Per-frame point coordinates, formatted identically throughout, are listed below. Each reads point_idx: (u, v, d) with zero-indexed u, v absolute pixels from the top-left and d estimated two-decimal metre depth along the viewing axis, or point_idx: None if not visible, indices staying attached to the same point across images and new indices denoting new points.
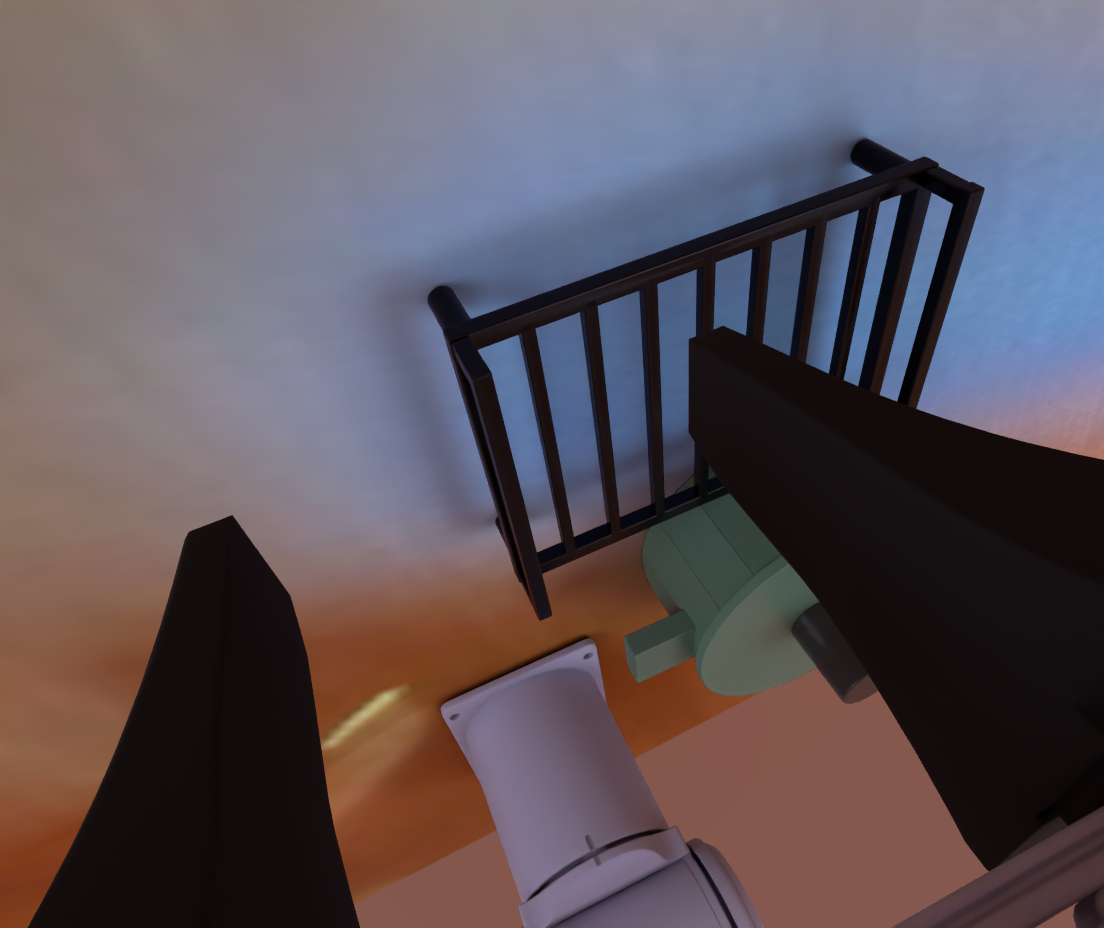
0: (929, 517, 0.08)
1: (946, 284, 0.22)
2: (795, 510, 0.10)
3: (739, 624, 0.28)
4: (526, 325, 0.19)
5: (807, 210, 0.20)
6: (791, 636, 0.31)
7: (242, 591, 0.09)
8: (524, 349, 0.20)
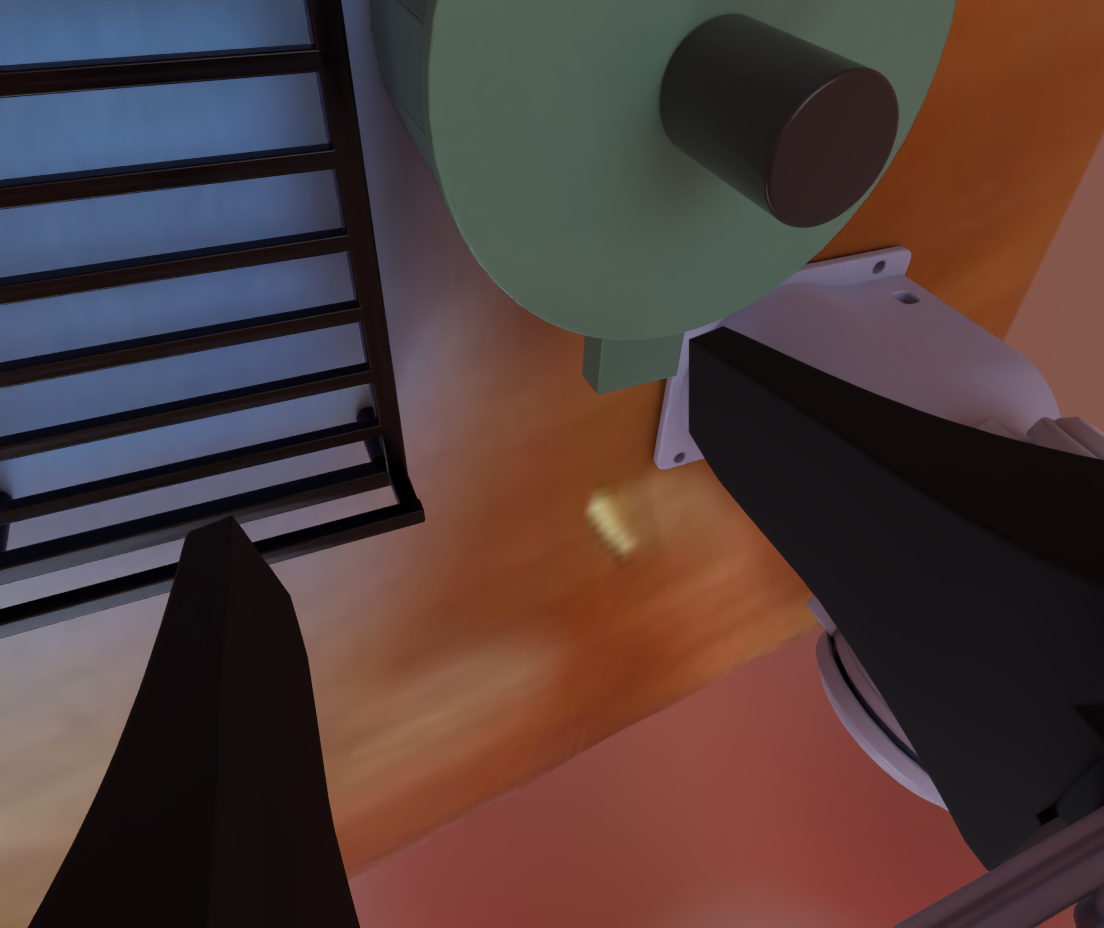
0: (929, 517, 0.08)
1: None
2: (795, 510, 0.10)
3: (585, 292, 0.15)
4: None
5: None
6: None
7: (242, 591, 0.09)
8: None
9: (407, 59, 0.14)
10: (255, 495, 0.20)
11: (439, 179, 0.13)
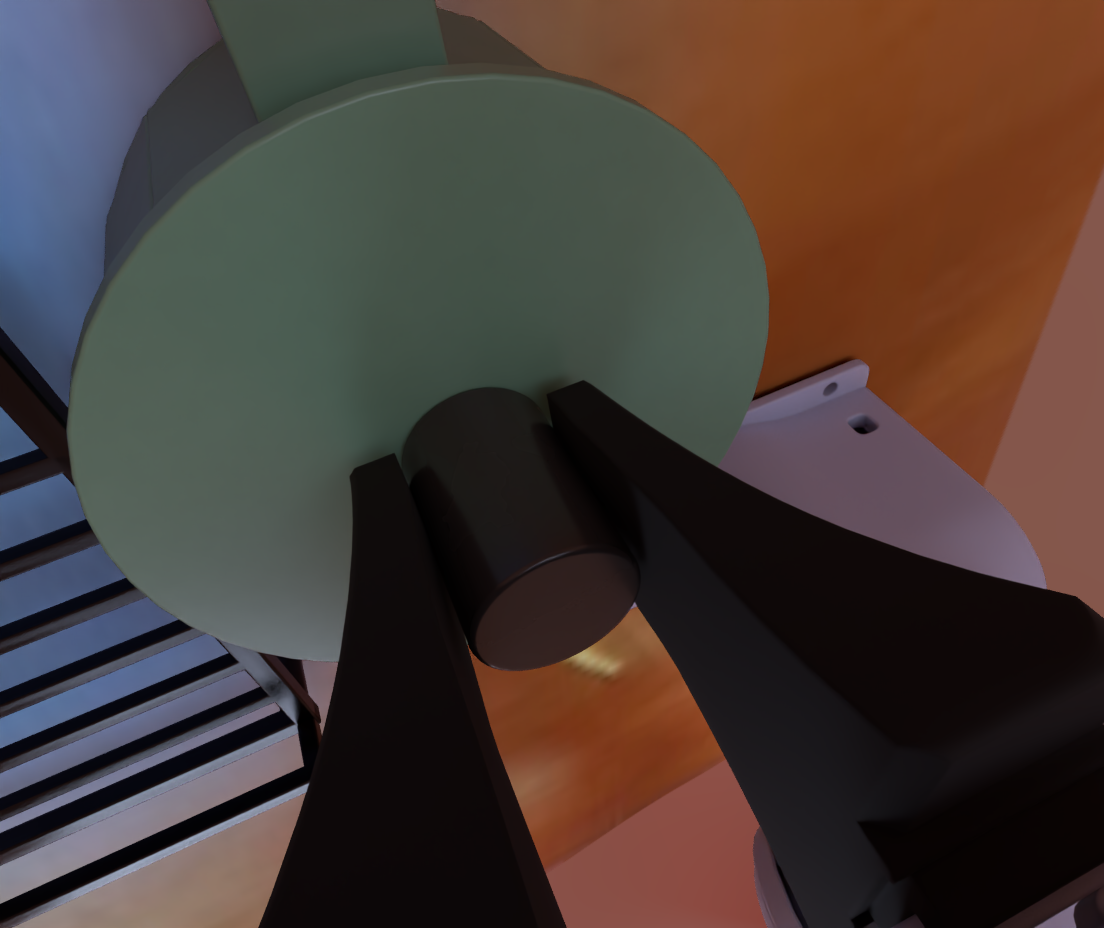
0: (732, 609, 0.07)
1: None
2: (646, 576, 0.10)
3: None
4: None
5: None
6: None
7: (418, 520, 0.10)
8: None
9: None
10: (164, 768, 0.20)
11: (173, 612, 0.12)
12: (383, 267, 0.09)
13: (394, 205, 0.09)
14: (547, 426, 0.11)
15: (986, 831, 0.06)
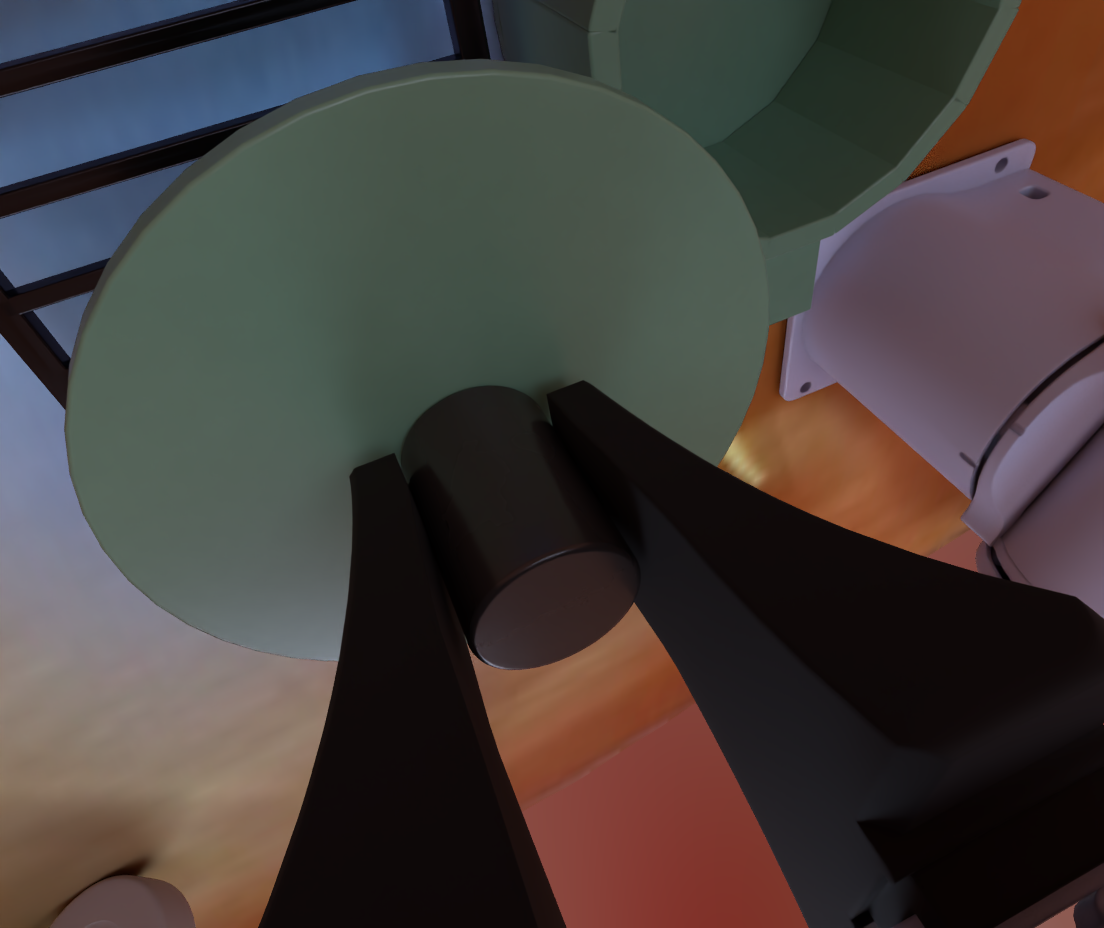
0: (732, 609, 0.07)
1: None
2: (645, 576, 0.10)
3: None
4: None
5: None
6: None
7: (418, 520, 0.10)
8: None
9: (543, 51, 0.15)
10: None
11: (172, 611, 0.12)
12: (382, 264, 0.09)
13: (393, 202, 0.09)
14: (547, 424, 0.11)
15: (986, 831, 0.06)
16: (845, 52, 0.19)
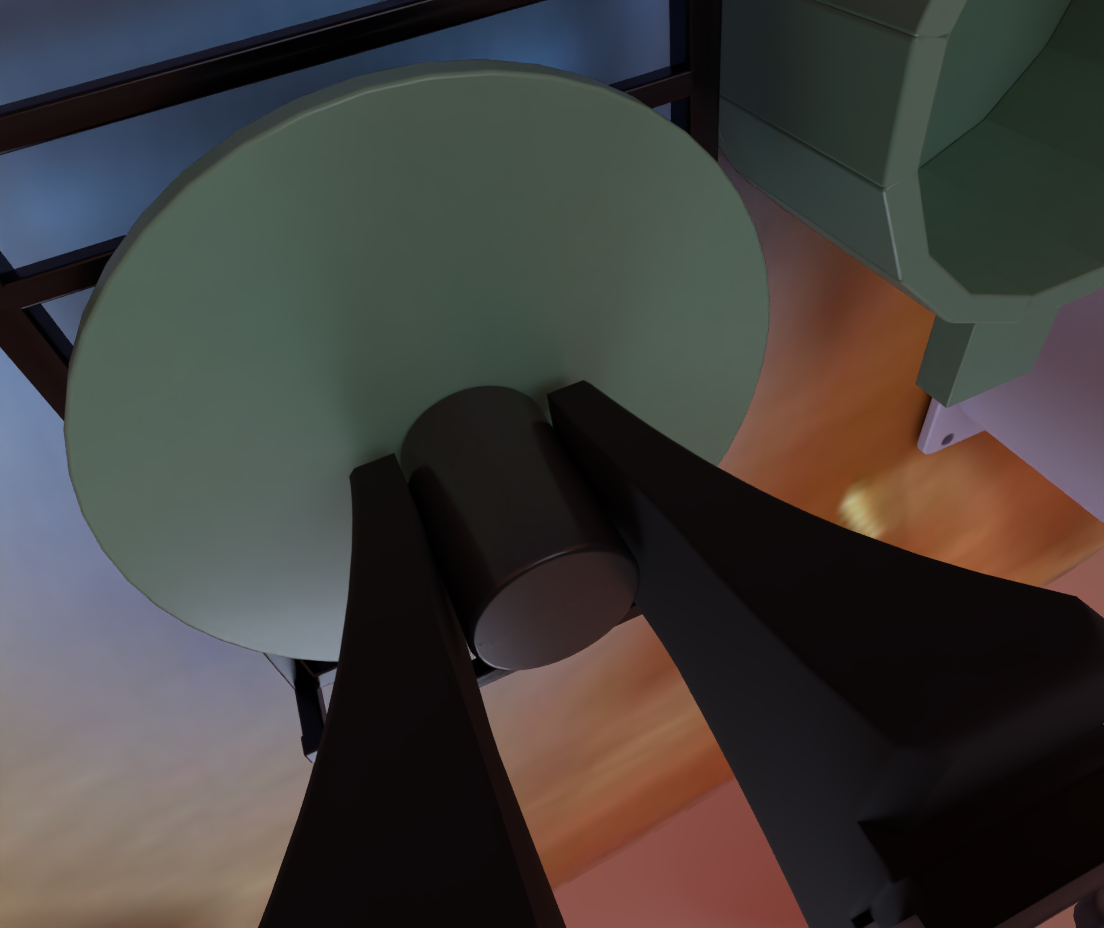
0: (732, 609, 0.07)
1: None
2: (646, 576, 0.10)
3: None
4: None
5: None
6: None
7: (418, 520, 0.10)
8: None
9: (791, 62, 0.11)
10: None
11: (172, 612, 0.12)
12: (381, 265, 0.09)
13: (392, 202, 0.09)
14: (546, 425, 0.11)
15: (986, 831, 0.06)
16: (1093, 61, 0.16)
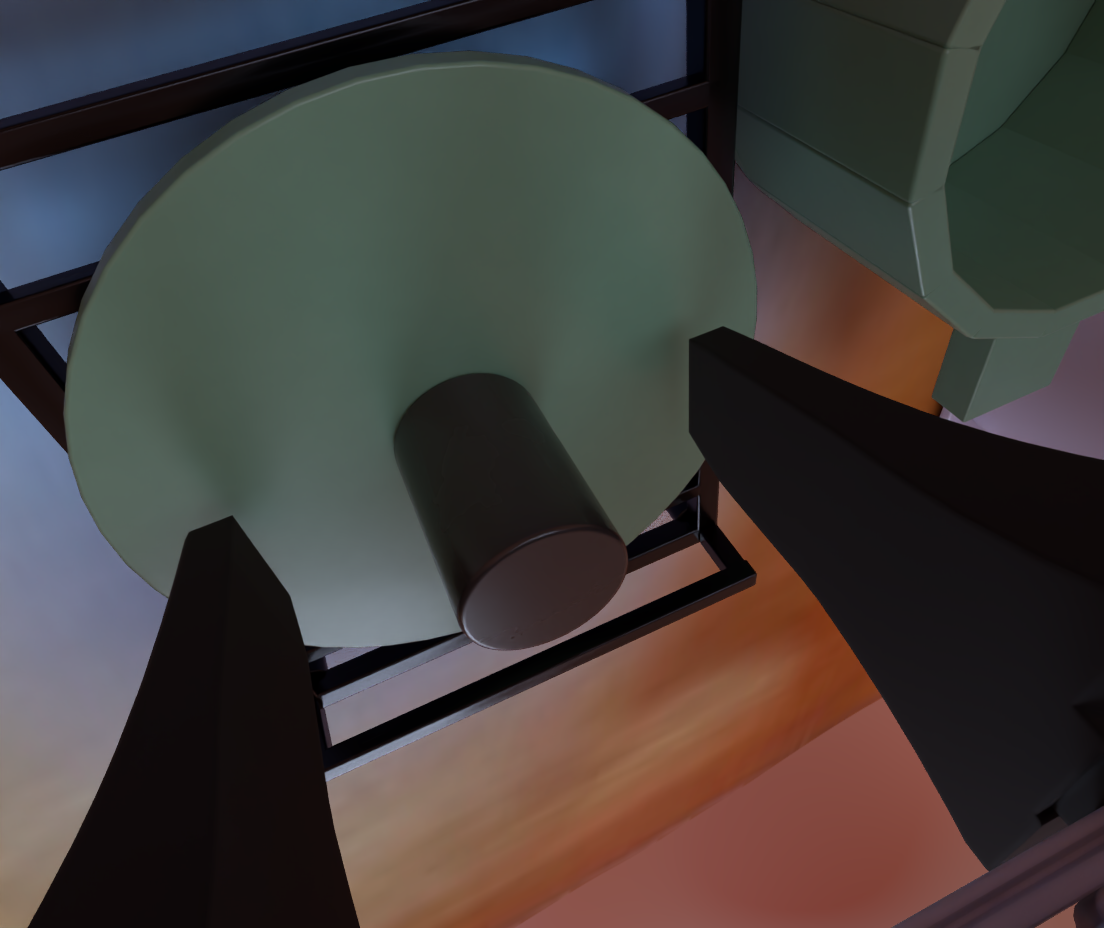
0: (929, 518, 0.08)
1: None
2: (795, 510, 0.10)
3: (394, 616, 0.14)
4: None
5: None
6: None
7: (242, 591, 0.09)
8: (320, 654, 0.16)
9: (812, 72, 0.11)
10: None
11: None
12: (374, 252, 0.09)
13: (384, 191, 0.09)
14: (537, 411, 0.11)
15: None
16: None
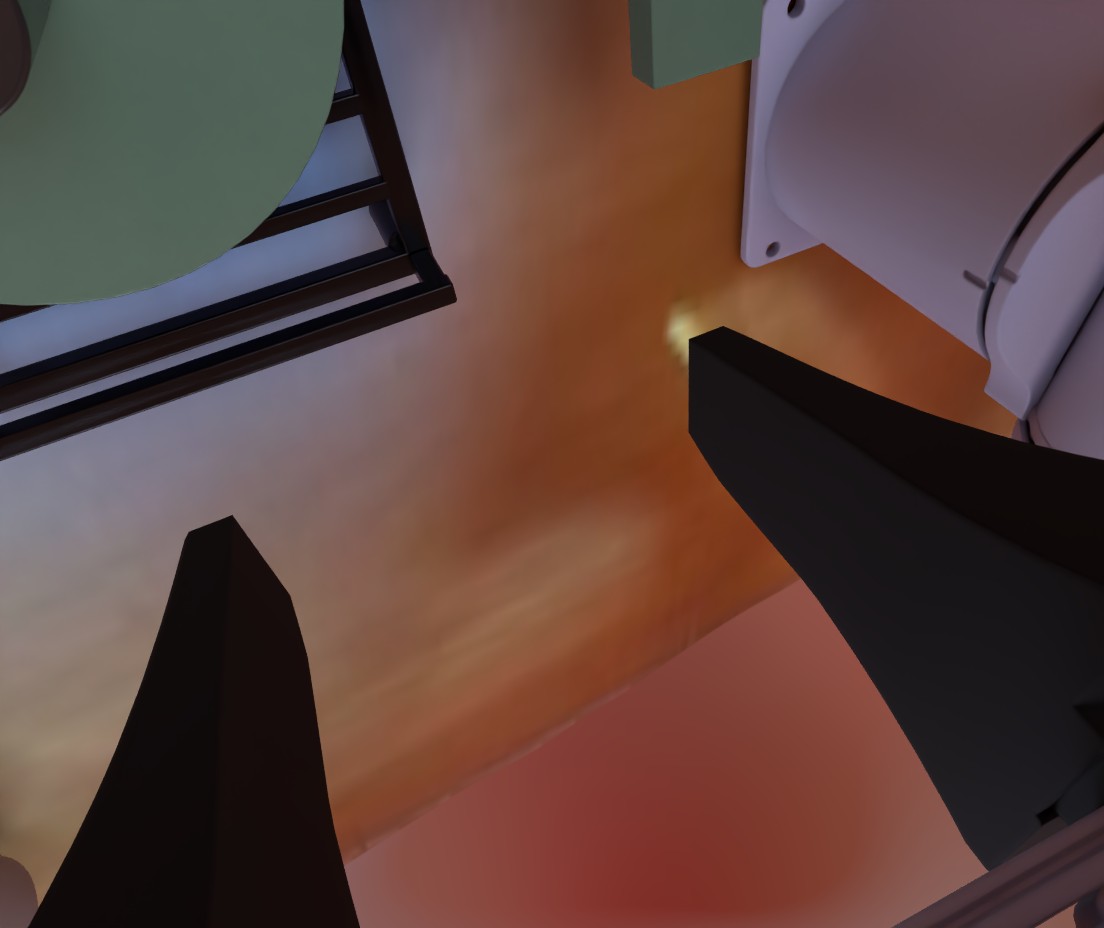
0: (929, 518, 0.08)
1: None
2: (795, 510, 0.10)
3: None
4: None
5: None
6: (53, 30, 0.11)
7: (242, 591, 0.09)
8: None
9: None
10: (253, 295, 0.17)
11: None
12: None
13: None
14: None
15: None
16: None
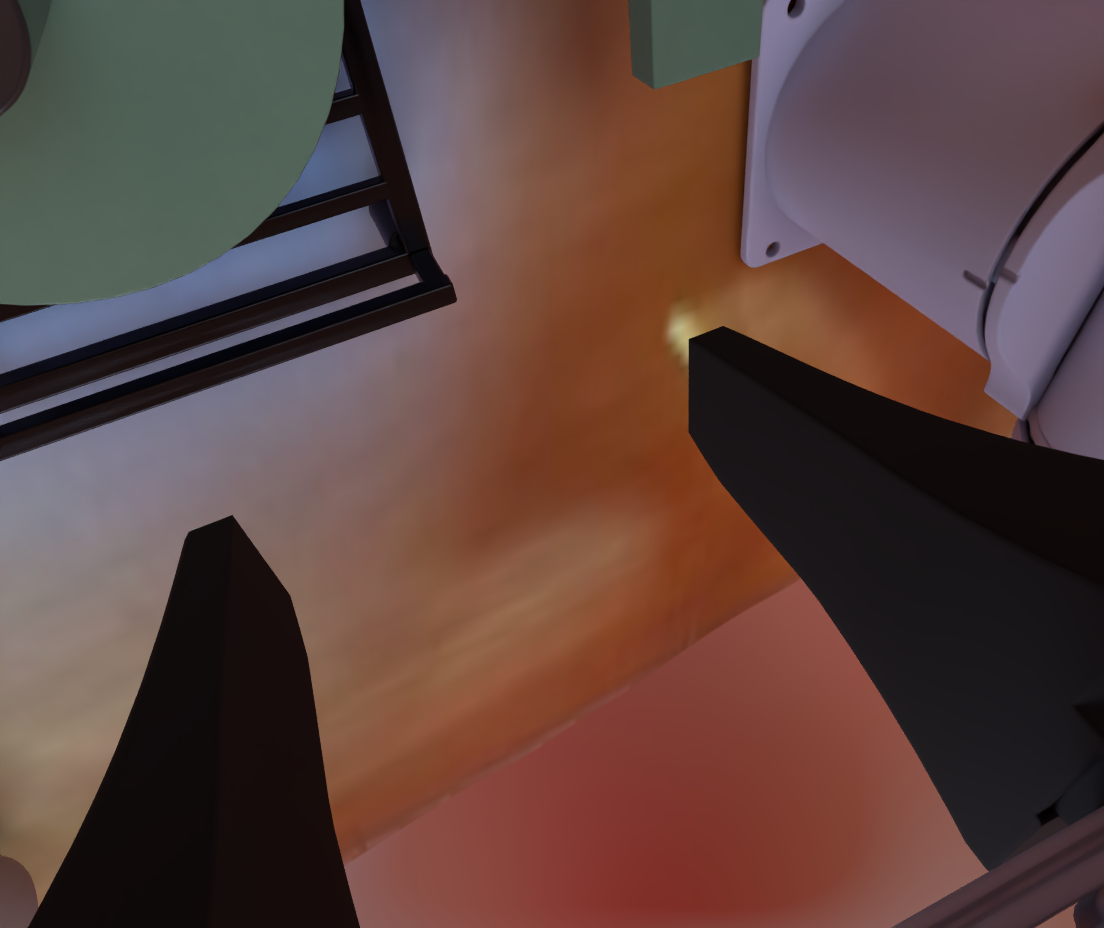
0: (929, 518, 0.08)
1: None
2: (795, 510, 0.10)
3: None
4: None
5: None
6: (53, 30, 0.11)
7: (242, 591, 0.09)
8: None
9: None
10: (253, 295, 0.17)
11: None
12: None
13: None
14: None
15: None
16: None
